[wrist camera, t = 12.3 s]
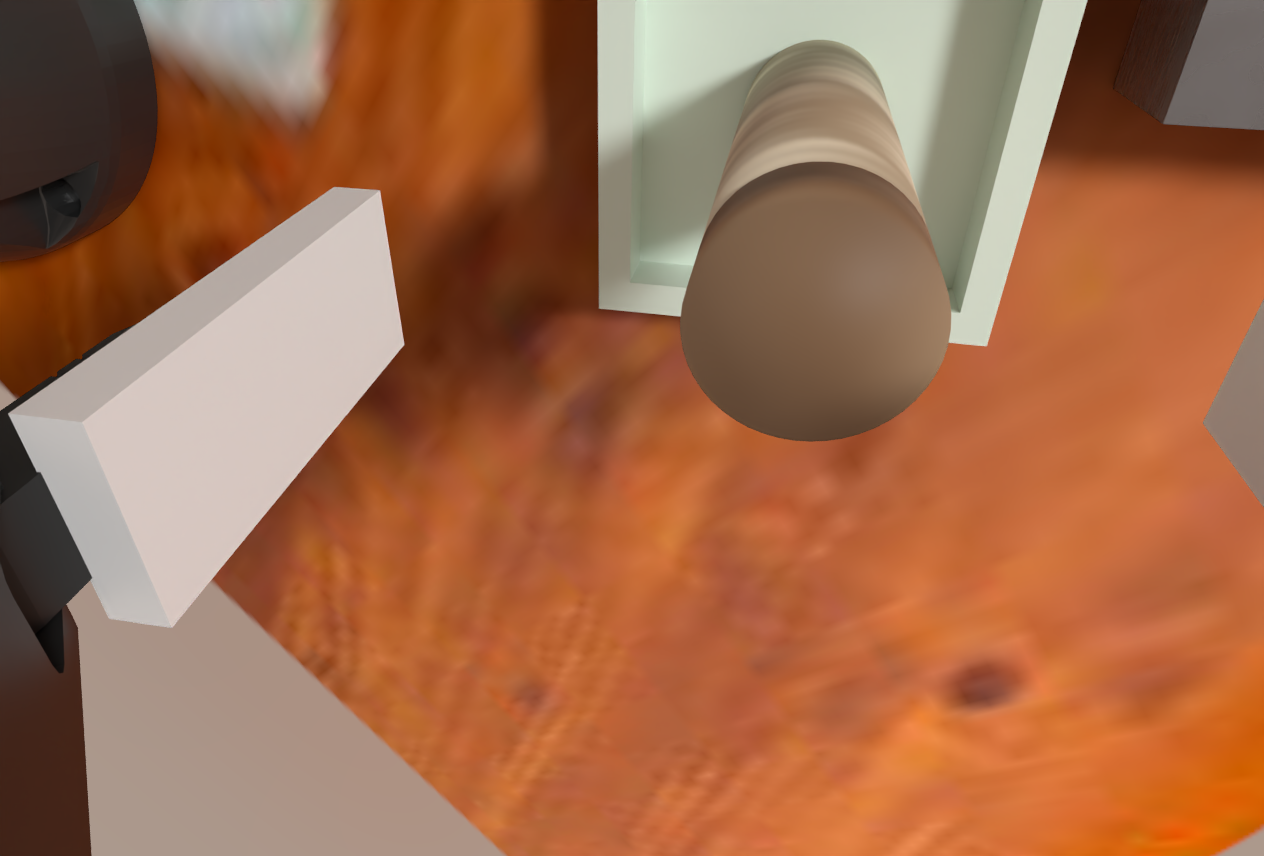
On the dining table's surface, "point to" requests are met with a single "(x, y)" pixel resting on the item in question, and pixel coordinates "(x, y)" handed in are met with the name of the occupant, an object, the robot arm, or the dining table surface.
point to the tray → (917, 98)
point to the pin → (815, 259)
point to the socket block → (1197, 62)
